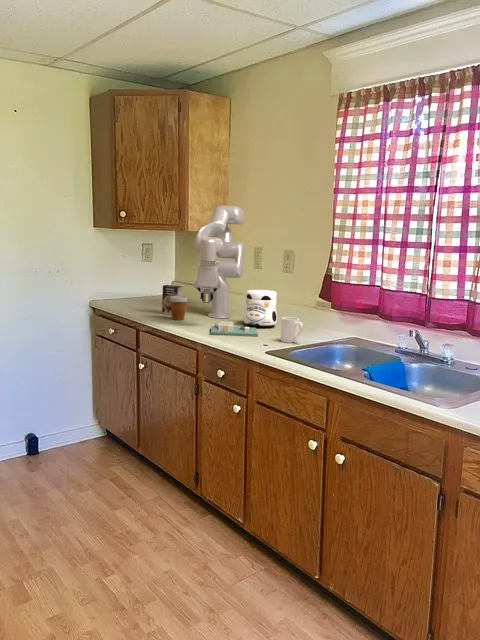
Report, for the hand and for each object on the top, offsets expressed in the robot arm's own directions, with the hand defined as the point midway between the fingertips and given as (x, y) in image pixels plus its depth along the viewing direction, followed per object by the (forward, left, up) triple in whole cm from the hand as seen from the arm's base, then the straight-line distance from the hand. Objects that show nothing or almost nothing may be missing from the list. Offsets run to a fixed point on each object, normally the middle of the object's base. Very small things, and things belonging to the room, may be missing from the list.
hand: (206, 300), depth 280 cm
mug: (+29, +40, -14) cm, 51 cm away
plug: (0, 0, -1) cm, 1 cm away
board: (+12, +14, -13) cm, 23 cm away
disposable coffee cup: (-18, -15, -14) cm, 27 cm away
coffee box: (-34, -20, -14) cm, 42 cm away
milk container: (-8, +28, -14) cm, 32 cm away
